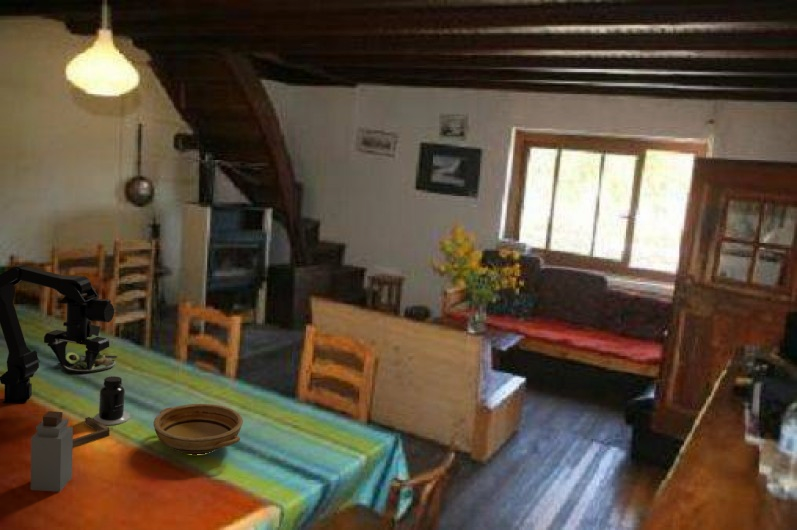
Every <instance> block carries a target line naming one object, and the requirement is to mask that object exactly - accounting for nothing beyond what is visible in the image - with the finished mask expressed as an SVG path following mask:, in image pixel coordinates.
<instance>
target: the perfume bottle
mask: <svg viewBox="0 0 797 530" xmlns="http://www.w3.org/2000/svg"><path fill="white" fill-rule="evenodd" d="M63 414H64V413H63V411H51V410H48V411H47V412H46V413H45V414H44V415H43V416H42V421H41V422H40V423H39V424H37V425H36V426H35V430H36V432H35V433H34V434H33V435H32V436H30V490H31V491H42V492H44V491H45V492H58V493H60V492H62V491H63V489H64V488H65V487H66V485H67V484H68V483H69V482H70V480H71V479H72V478H73V448H74V447H73V439H74V438H73V435H74V434H73V433H74V427H73V426H68V424H69V421H70V419H68V418H63Z"/></svg>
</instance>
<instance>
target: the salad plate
mask: <svg viewBox="0 0 797 530" xmlns="http://www.w3.org/2000/svg"><path fill="white" fill-rule="evenodd" d="M116 358H118V355H108V354H107V355H106V354H105V353H103V354H101V353H100V352H99V353H98V355H97V357H96V359H95V362H94V364H93V366H92V369H91V370H88V368H87V362H86V355H85V354H83V355H79V354H78V353H76V352H74V351H67V352H66V359H65V365H61V368H63V370H64V371H65V372H68V373H70V374H75V375H76V374H78V375H80V374H91V373H97V372H101V371H105V370H109V369H111V368H113V367H114V366H115V365H116V362H115V361H114V359H116ZM98 366H105V367H101V368H95V367H98Z"/></svg>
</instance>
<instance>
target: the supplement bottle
mask: <svg viewBox="0 0 797 530" xmlns="http://www.w3.org/2000/svg"><path fill="white" fill-rule="evenodd" d="M122 380H123V379H122V377H120V376H115V375H114V376H108V377H104V380H103V381H104V382H103V386H102V387H101V388H100V390H99V402H98V403H99V405H98V408H99V409H98V413H99V417H100V418H101V419H103V420H108V421H111V420H117V419H120V418H121V417H122V416H123V412H124V407H125V392H126V391H125V388H124V387H123V386H122Z"/></svg>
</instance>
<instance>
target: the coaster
mask: <svg viewBox="0 0 797 530" xmlns="http://www.w3.org/2000/svg"><path fill="white" fill-rule="evenodd" d="M93 419H94V420H96V421H98V422H99V423H101V424H103V425H105V426H116V425H115V424H118V425H122V424H124V422H125V423H127V422H128V421H129V420H130V419H131V413H129V412H128V411H124V412H123V416H122V417H121V418H120V419H117V420H111V421H108V420H103V419H101V418H100V417H99V412H98V413H96V414H95V415H94V417H93ZM126 421H127V422H126ZM121 423H122V424H121Z"/></svg>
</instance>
